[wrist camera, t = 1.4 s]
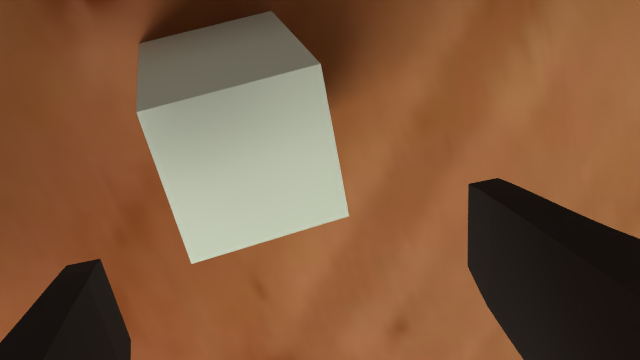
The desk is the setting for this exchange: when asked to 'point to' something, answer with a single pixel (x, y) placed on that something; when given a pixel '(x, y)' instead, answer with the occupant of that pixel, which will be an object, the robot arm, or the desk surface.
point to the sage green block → (239, 134)
